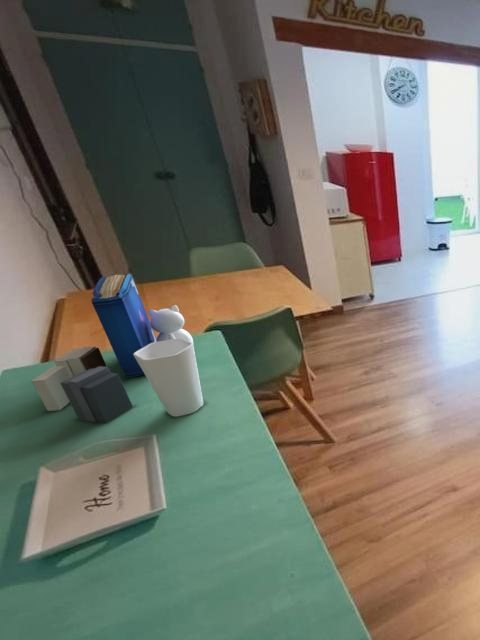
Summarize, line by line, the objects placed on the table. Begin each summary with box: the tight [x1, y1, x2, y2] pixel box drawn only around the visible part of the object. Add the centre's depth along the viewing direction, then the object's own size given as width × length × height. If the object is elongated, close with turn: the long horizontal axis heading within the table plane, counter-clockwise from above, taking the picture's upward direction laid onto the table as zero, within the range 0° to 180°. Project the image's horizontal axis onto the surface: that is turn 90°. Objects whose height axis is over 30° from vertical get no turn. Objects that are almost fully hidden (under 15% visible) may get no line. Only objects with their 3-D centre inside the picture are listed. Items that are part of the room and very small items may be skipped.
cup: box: [133, 338, 204, 417], centre depth 102 cm, size 11×10×17 cm
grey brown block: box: [54, 346, 108, 378], centre depth 113 cm, size 6×7×9 cm
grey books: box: [61, 366, 134, 424], centre depth 101 cm, size 8×7×11 cm
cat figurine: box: [148, 304, 194, 344], centre depth 128 cm, size 9×12×15 cm
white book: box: [31, 365, 70, 412], centre depth 104 cm, size 2×7×9 cm, turn 13°
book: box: [90, 272, 157, 378], centre depth 120 cm, size 22×7×25 cm, turn 34°
